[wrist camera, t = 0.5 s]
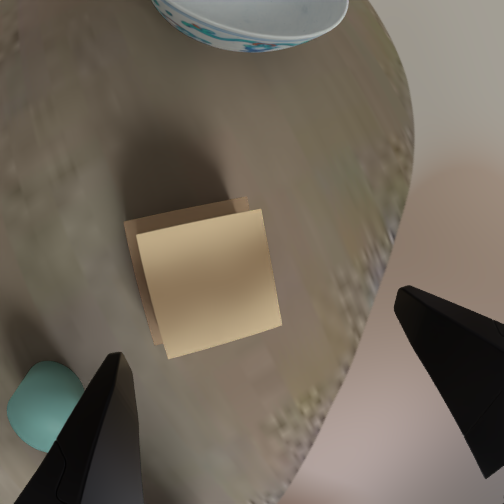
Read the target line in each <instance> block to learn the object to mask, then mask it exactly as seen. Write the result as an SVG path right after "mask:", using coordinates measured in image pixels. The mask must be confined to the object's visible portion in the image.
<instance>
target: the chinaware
mask: <svg viewBox="0 0 504 504" xmlns="http://www.w3.org/2000/svg"><path fill="white" fill-rule="evenodd" d="M151 1H152V2H153V4H154V6H155V7H156V8H157V10H158V11H159V12H160V14H161V15H162V16H163V17H164V18H165V19H166V20H167V21H168V22H169V23H170V24H171V25H173V26H174V27H175V28H176V29H178V30H179V31H181V32H182V33H184V34H185V35H187V36H189V37H191V38H193V39H195V40H197V41H199V42H201V43H204V44H207V45H210V46H213V47H216V48H220V49H225V50H230V51H238V52H268V51H275V50H281V49H285V48H289V47H293V46H296V45H299V44H302V43H305V42H308V41H310V40H312V39H315V38H317V37H319V36H321V35H323V34H325V33H327V32H328V31H330V30H332V29H333V28H335V27H336V26H337V25H338V24H339V23H340V22H341V21H342V19H343V18H344V16H345V14H346V12H347V9H348V2H349V0H151Z"/></svg>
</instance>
